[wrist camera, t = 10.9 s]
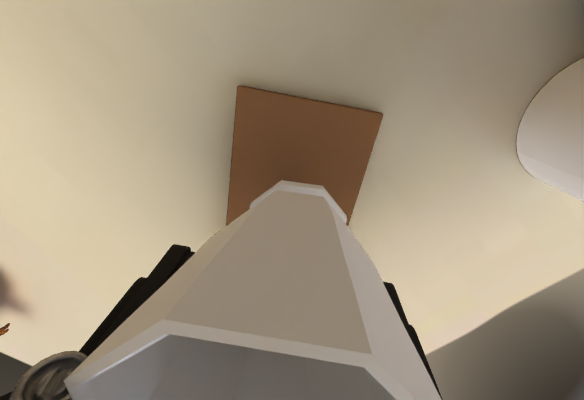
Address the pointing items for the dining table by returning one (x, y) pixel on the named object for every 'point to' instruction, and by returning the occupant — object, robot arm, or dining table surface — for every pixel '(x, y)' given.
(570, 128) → the cylindrical container
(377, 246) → the dining table surface
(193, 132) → the dining table surface
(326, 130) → the placemat
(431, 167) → the dining table surface
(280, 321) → the cup
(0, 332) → the fruit
